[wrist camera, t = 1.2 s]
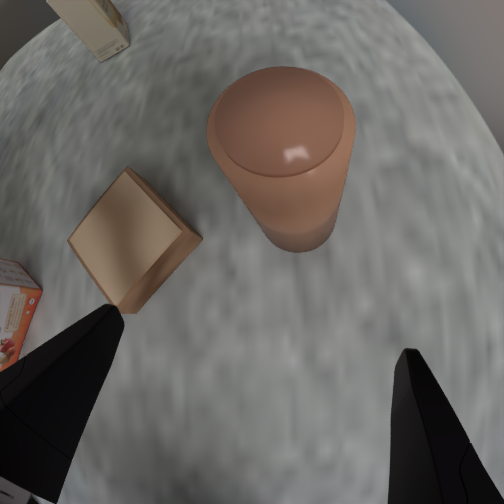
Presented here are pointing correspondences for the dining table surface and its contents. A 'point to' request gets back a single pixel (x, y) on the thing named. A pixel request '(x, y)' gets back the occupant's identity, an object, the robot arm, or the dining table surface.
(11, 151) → the dining table surface
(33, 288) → the cracker box
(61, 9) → the skincare box
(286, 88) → the tan lidded canister
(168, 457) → the dining table surface
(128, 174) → the plinth
